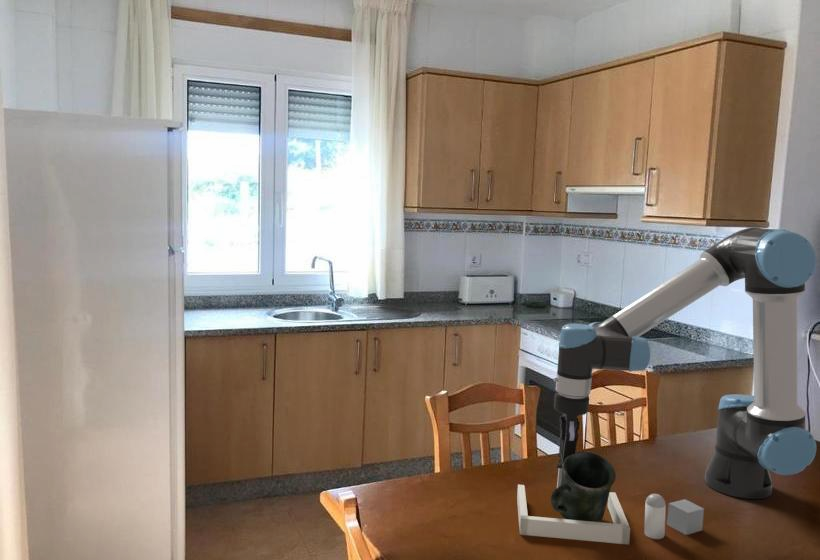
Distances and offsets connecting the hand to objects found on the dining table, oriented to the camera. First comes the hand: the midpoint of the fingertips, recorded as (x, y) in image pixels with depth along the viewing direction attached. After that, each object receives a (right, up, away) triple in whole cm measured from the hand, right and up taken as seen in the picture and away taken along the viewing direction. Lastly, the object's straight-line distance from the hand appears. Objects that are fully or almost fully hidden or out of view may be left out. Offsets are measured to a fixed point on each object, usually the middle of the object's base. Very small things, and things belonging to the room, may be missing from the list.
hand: (562, 493), depth 154 cm
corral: (0, -4, -6) cm, 7 cm away
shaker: (+17, -5, -11) cm, 21 cm away
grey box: (+25, -5, -7) cm, 26 cm away
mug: (+1, -2, -6) cm, 6 cm away
